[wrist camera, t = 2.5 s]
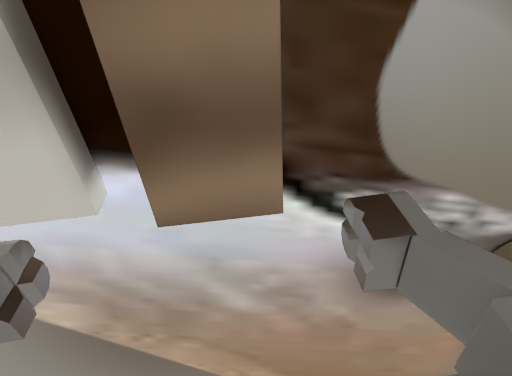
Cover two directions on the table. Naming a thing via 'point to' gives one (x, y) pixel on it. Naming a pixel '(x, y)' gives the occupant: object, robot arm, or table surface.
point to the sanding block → (197, 102)
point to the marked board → (39, 134)
